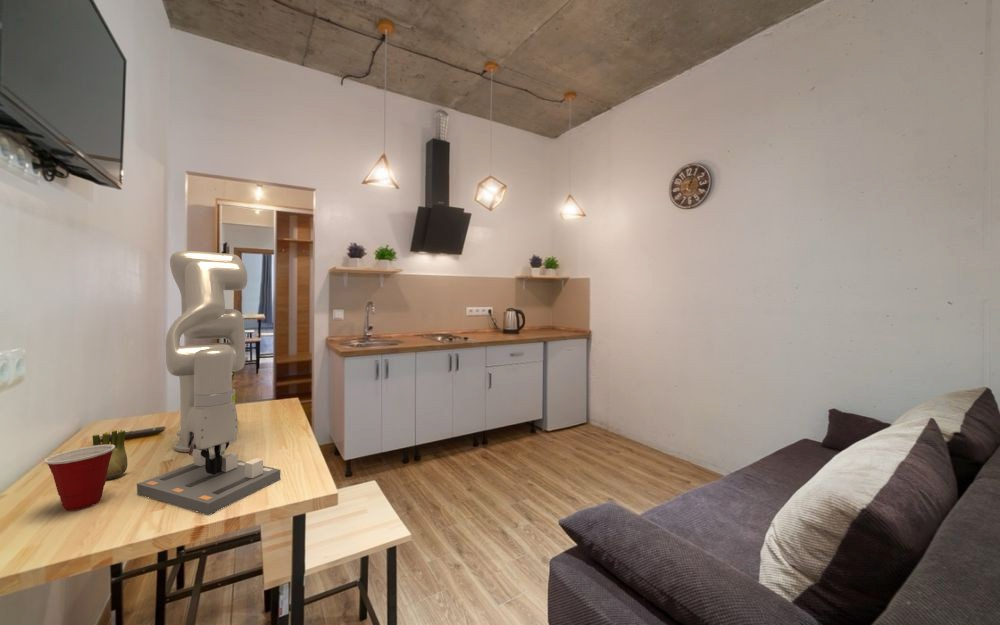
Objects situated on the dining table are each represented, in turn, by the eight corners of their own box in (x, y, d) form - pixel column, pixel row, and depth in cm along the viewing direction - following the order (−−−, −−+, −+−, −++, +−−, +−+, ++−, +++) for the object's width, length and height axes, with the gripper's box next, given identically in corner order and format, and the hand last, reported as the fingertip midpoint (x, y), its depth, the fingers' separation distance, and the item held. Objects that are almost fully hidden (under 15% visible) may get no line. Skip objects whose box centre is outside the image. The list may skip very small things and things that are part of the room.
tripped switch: (219, 470, 99) (219, 456, 99) (230, 465, 102) (230, 452, 102) (226, 472, 99) (226, 458, 98) (237, 467, 101) (237, 453, 101)
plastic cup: (101, 488, 94) (100, 439, 94) (126, 498, 90) (125, 446, 90) (34, 510, 84) (33, 455, 84) (59, 522, 80) (58, 464, 80)
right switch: (244, 476, 96) (244, 462, 96) (255, 471, 99) (256, 458, 99) (251, 478, 96) (251, 464, 95) (263, 473, 98) (263, 459, 98)
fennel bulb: (89, 482, 97) (88, 434, 97) (105, 473, 102) (104, 428, 102) (117, 480, 98) (116, 433, 98) (131, 472, 103) (130, 427, 103)
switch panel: (137, 494, 92) (136, 483, 92) (214, 464, 109) (214, 454, 109) (208, 515, 84) (208, 503, 84) (280, 479, 101) (280, 469, 101)
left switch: (194, 464, 102) (194, 451, 102) (206, 460, 105) (206, 447, 105) (200, 466, 101) (200, 453, 101) (212, 461, 104) (212, 448, 104)
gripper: (232, 390, 105) (232, 458, 105) (169, 404, 90) (169, 482, 91) (252, 393, 102) (253, 463, 103) (191, 408, 88) (191, 488, 89)
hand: (213, 472), depth 97 cm, fingers closed
